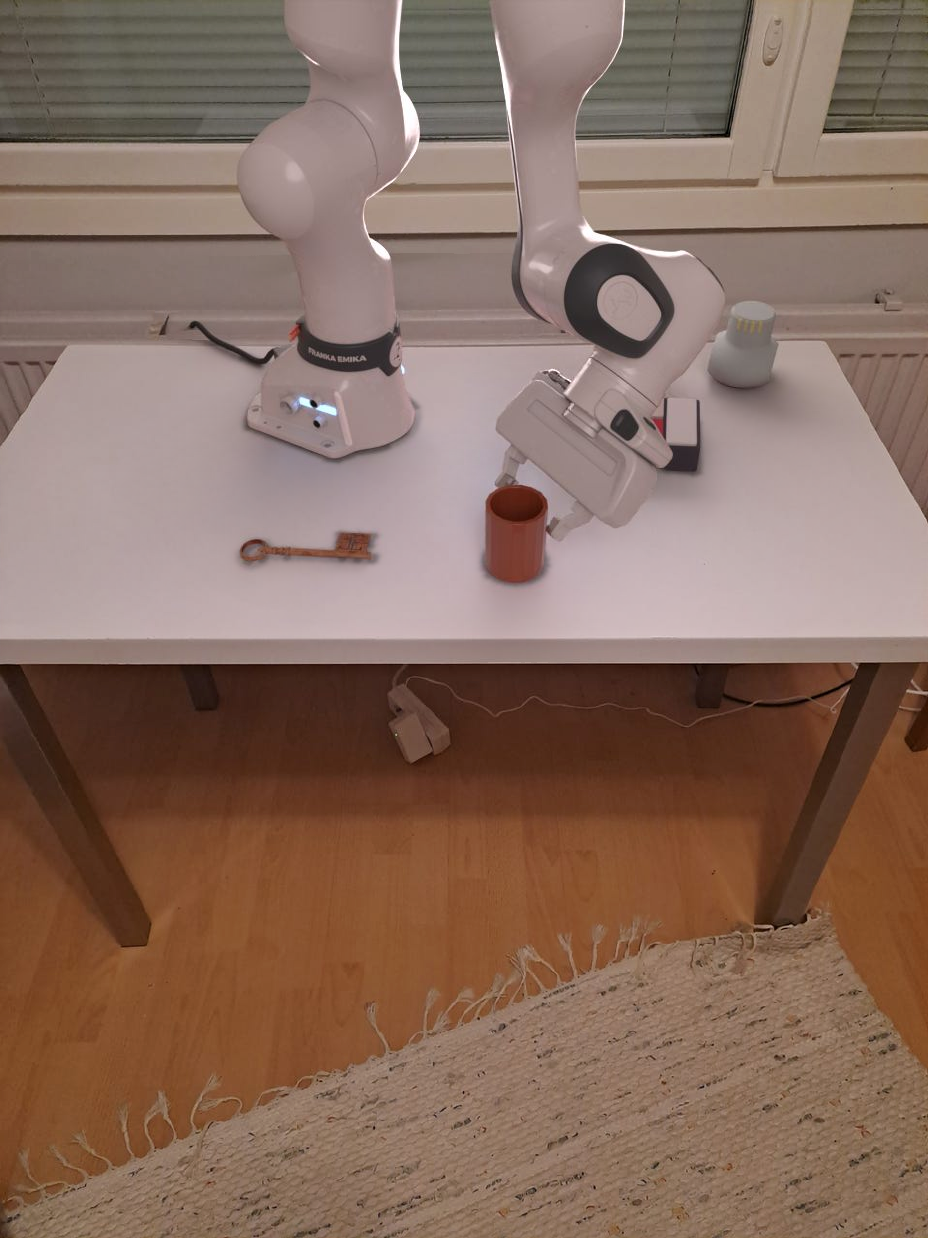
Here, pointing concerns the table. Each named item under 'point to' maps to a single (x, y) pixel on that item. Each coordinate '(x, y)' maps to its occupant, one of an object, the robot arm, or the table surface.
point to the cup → (515, 533)
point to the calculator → (680, 431)
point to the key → (341, 552)
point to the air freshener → (745, 346)
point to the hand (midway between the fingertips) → (526, 512)
